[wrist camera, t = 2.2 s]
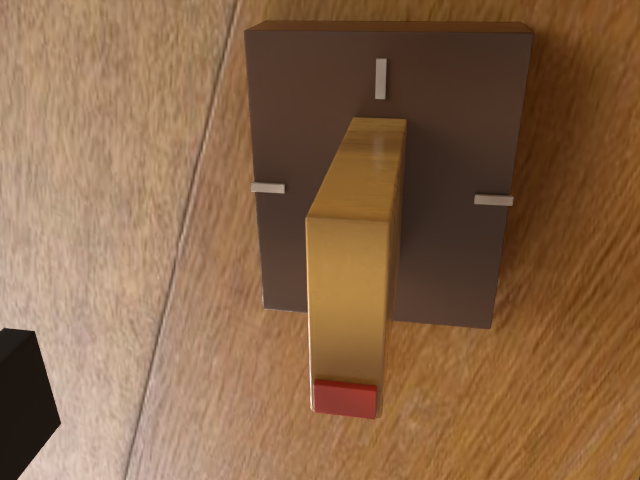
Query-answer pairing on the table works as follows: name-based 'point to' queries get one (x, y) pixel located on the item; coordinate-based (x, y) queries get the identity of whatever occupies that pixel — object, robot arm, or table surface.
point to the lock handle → (355, 268)
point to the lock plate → (420, 155)
